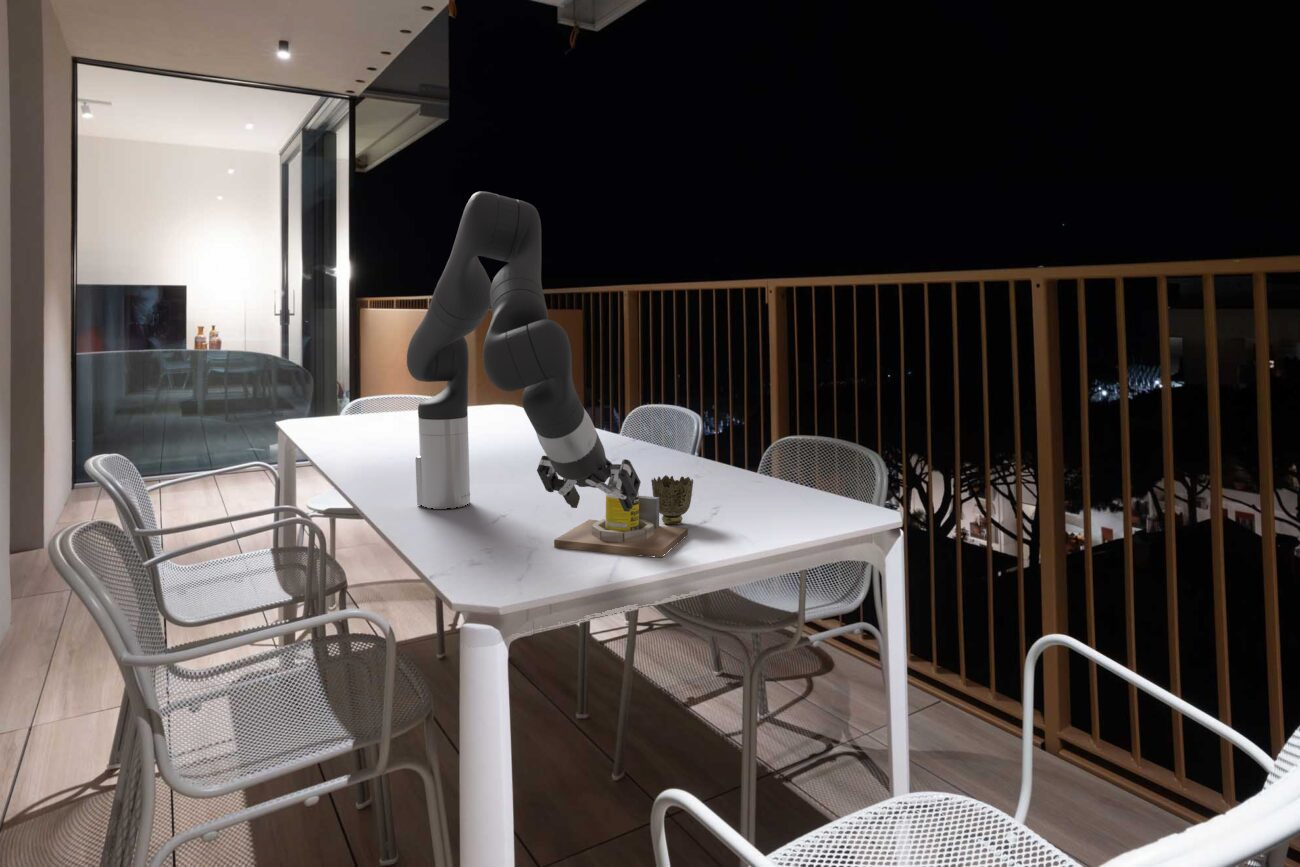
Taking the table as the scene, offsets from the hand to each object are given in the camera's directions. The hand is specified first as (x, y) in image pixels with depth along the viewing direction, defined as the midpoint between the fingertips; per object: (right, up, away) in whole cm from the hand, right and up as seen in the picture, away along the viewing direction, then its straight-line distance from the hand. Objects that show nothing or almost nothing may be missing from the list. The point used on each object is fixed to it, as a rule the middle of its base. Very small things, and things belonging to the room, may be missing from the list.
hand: (602, 504), depth 123 cm
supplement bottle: (+3, -6, +10) cm, 12 cm away
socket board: (+3, -7, +11) cm, 13 cm away
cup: (+11, -5, +22) cm, 26 cm away
